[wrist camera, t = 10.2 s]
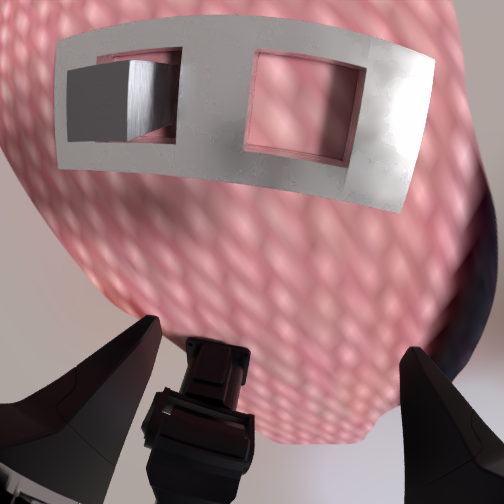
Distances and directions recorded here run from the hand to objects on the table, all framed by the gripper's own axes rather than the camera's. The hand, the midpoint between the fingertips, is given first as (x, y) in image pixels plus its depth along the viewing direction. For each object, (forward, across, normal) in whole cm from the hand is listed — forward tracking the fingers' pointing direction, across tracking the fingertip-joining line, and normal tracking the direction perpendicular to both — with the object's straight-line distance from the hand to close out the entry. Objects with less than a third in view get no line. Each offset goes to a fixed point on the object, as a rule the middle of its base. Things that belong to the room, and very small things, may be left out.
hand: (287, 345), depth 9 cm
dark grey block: (+12, +10, -7) cm, 17 cm away
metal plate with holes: (+12, +5, -7) cm, 15 cm away
